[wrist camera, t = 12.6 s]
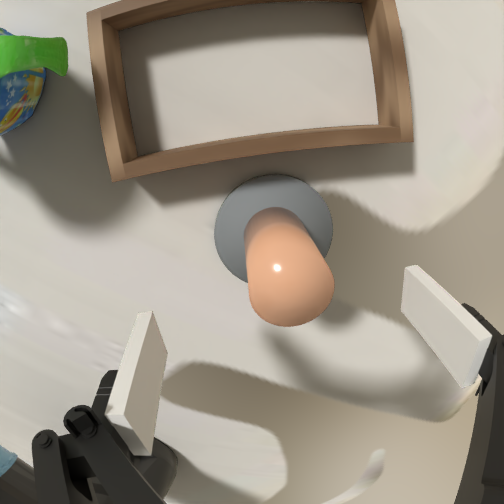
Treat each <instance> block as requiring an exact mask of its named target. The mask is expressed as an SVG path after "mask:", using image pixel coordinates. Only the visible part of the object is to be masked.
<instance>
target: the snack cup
mask: <svg viewBox="0 0 504 504" xmlns="http://www.w3.org/2000/svg"><path fill="white" fill-rule="evenodd" d="M44 67H46V68H48V69H50V70H52V71H53V72H55V73H56V74H58V75H59V76H65V75H66V73H67V70H68V48H67V43H66V41H65V39H64V38H63V37H56V38H38V37H30V36H15V35H13V34H11V33H9V32H7V31H6V30H5V29H3V28H0V136H1V135H3V134H5V133H7V132H9V131H10V130H12V129H14V128H16V127H18V126H19V125H21V124H22V123H24V122H25V121H26V120H27V119H28V118H30V117H31V116H32V115H33V111H34V109H35V107H36V105H37V103H38V101H39V99H40V96H41V94H42V90H43V86H44V81H45V79H46V70H45V68H44Z"/></svg>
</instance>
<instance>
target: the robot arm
mask: <svg viewBox="0 0 504 504" xmlns="http://www.w3.org/2000/svg"><path fill="white" fill-rule="evenodd" d="M401 311H402V313H403V314H404V315H405V316H406V318H407V319H408V320H409V321H410V322H411V324H412V325H413V326H414V327H415V329H416V330H417V331H418V332H419V334H420V335H421V336H422V337H423V339H424V340H425V341H426V343H427V344H428V345H429V346H430V348H431V349H432V350H433V351H434V353H435V354H436V355H437V357H438V358H439V359H440V361H441V362H442V363H443V365H444V366H445V367H446V369H447V370H448V371H449V373H450V374H451V375H452V377H453V378H454V379H455V381H456V382H457V383H458V385H459V386H460V387H461V389H463V388H465V387H467V386H470V385H472V384H474V383H475V380H476V378H477V376H478V374H479V375H480V376H481V377H482V380H481V383H480V385H479V387H478V390H477V392H476V394H475V395H476V396H477V395H478V393H479V398H478V404H477V411H476V417H475V423H474V428H473V434H472V439H471V443H470V448H469V453H468V457H467V461H466V465H465V469H464V472H463V476H462V480H461V483H460V486H459V490H458V493H457V496H456V499H455V502H454V504H504V335H501V334H500V333H499V332H498V331H497V330H496V329H495V328H494V327H493V326H492V325H491V324H490V323H489V322H488V321H487V320H485V319H484V317H483V316H482V315H480V314H479V313H478V312H477V311H476V310H475V309H474V308H473V307H471V306H469V305H467V304H465V303H464V304H460V303H458V302H457V301H456V300H455V299H454V298H453V297H452V296H451V295H450V294H449V293H448V292H447V291H446V290H445V289H443V288H442V287H441V286H440V285H439V284H438V283H437V282H436V281H435V280H433V279H432V278H431V277H430V276H429V275H428V274H427V273H426V272H424V271H423V270H422V269H421V268H420V267H419V266H417V265H413V266H409V267H405V274H404V284H403V294H402V304H401ZM167 354H168V353H167V350H166V347H165V345H164V342H163V339H162V336H161V334H160V331H159V328H158V325H157V322H156V320H155V317H154V314H153V311H150V312H142V313H138V316H137V318H136V321H135V324H134V327H133V329H132V332H131V335H130V338H129V341H128V343H127V346H126V349H125V352H124V355H123V358H122V361H121V364H120V367H119V370H109V371H108V372H107V373H106V374H105V375H104V377H103V378H102V380H101V382H100V385H99V389H98V391H97V396H95V399H94V402H93V405H92V408H90V407H89V406H86V405H78V406H76V407H73V408H72V409H70V410H69V411H68V412H67V413H66V415H65V417H64V420H63V422H64V426H65V427H66V429H67V430H68V431H69V432H70V434H67V435H62V436H58V435H57V434H56V433H55V432H54V431H53V430H49V429H48V430H43V431H41V432H39V433H38V434H36V435H35V437H34V439H33V440H32V455H33V466H34V468H33V467H31V466H30V465H28V464H27V463H25V462H24V461H22V460H21V459H19V458H18V456H17V455H16V454H15V453H12V452H9V451H8V450H7V449H5V448H4V447H2V446H1V445H0V504H166V502H165V501H164V500H163V499H164V498H165V496H166V494H167V492H168V490H169V488H170V486H171V484H172V482H173V480H174V478H175V476H176V470H177V458H176V456H175V454H174V453H173V452H172V451H171V450H170V449H169V448H168V447H167V446H166V445H164V444H163V443H161V442H160V441H158V440H156V439H154V432H155V425H156V419H157V412H158V406H159V400H160V394H161V388H162V382H163V376H164V370H165V365H166V359H167Z"/></svg>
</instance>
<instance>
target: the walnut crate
mask: <svg viewBox="0 0 504 504" xmlns="http://www.w3.org/2000/svg"><path fill="white" fill-rule="evenodd" d="M293 1H328V2H350V3H361V4H362V9H363V14H364V19H365V24H366V29H367V35H368V41H369V47H370V53H371V60H372V67H373V74H374V82H375V91H376V100H377V110H378V121H379V125H356V126H339V127H325V128H313V129H302V130H292V131H283V132H274V133H266V134H258V135H251V136H244V137H237V138H231V139H224V140H218V141H212V142H206V143H201V144H195V145H190V146H185V147H180V148H175V149H170V150H165V151H160V152H156V153H151V154H147V155H142V156H138V155H137V150H136V144H135V139H134V134H133V128H132V123H131V117H130V111H129V105H128V99H127V93H126V86H125V80H124V73H123V65H122V58H121V49H120V41H119V32H118V31H120V30H124V29H127V28H130V27H134V26H137V25H141V24H144V23H148V22H152V21H156V20H160V19H164V18H168V17H173V16H177V15H182V14H187V13H192V12H197V11H203V10H209V9H215V8H222V7H229V6H238V5H247V4H258V3H271V2H293ZM87 27H88V39H89V49H90V58H91V67H92V75H93V82H94V89H95V96H96V103H97V109H98V115H99V120H100V126H101V131H102V137H103V142H104V147H105V152H106V157H107V161H108V166H109V170H110V175H111V179H112V182H116V181H120V180H125V179H129V178H133V177H138V176H142V175H147V174H152V173H156V172H161V171H166V170H171V169H176V168H181V167H187V166H192V165H198V164H203V163H209V162H215V161H221V160H227V159H234V158H240V157H247V156H254V155H261V154H269V153H277V152H285V151H293V150H302V149H312V148H322V147H333V146H346V145H360V144H376V143H397V142H414V141H413V123H412V109H411V98H410V88H409V79H408V71H407V64H406V57H405V50H404V44H403V38H402V33H401V27H400V22H399V17H398V12H397V8H396V3H395V0H121V1H118V2H115V3H112V4H109V5H106V6H103V7H100V8H98V9H95V10H92V11H90V12H87Z"/></svg>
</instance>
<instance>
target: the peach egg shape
mask: <svg viewBox="0 0 504 504" xmlns="http://www.w3.org/2000/svg"><path fill="white" fill-rule="evenodd" d="M244 247H245V257H246V267H247V277H248V287H249V298H250V302H251V305H252V307H253V309H254V311H255V312H256V313H257V314H258V315H259V316H260V317H261V318H262V319H263V320H265V321H267V322H269V323H271V324H274V325H277V326H284V327H291V326H298V325H302V324H305V323H307V322H309V321H311V320H313V319H315V318H316V317H318V316H319V315H320V314H321V313H322V312H323V311H324V310H325V309H326V308H327V306H328V305H329V303H330V301H331V299H332V297H333V293H334V278H333V275H332V272H331V270H330V268H329V267H328V265H327V263H326V262H325V260H324V258H323V257H322V255H321V253H320V252H319V250H318V248H317V246H316V245H315V243H314V241H313V240H312V238H311V237H310V235H309V233H308V232H307V230H306V228H305V227H304V225H303V223H302V222H301V220H300V219H299V217H298V216H297V215H296V214H295V213H293V212H292V211H290V210H288V209H285V208H281V207H270V208H266V209H263V210H261V211H259V212H257V213H256V214H255V215H253V216H252V217H251V219H250V220H249V221H248V223H247V225H246V227H245V230H244Z"/></svg>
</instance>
